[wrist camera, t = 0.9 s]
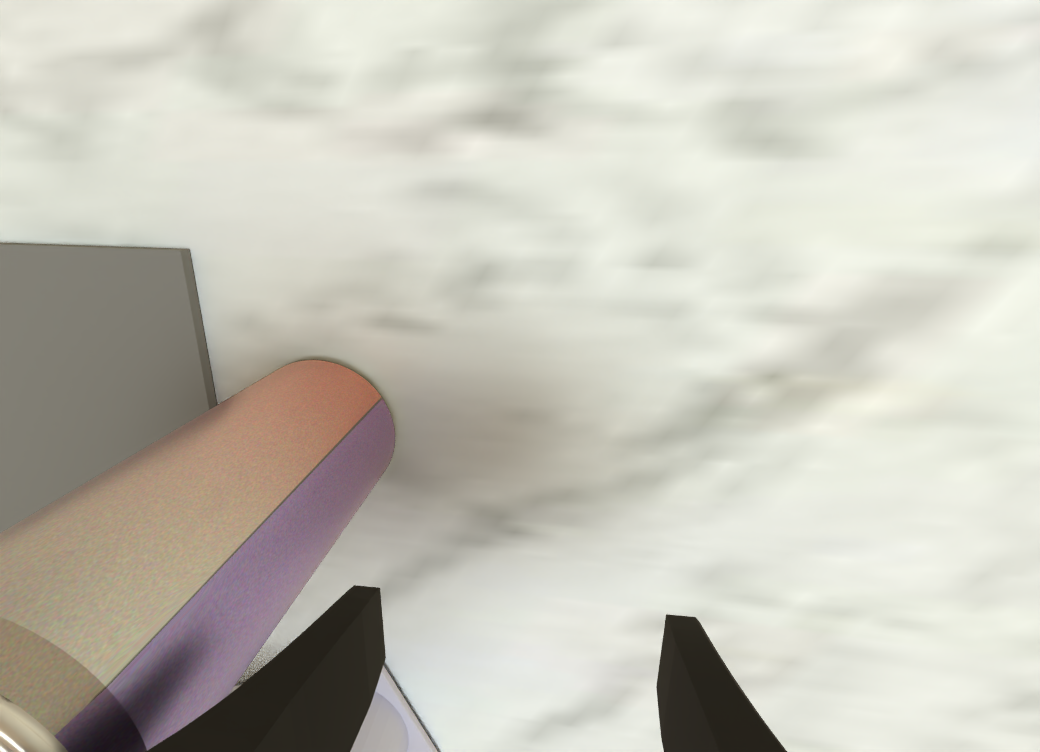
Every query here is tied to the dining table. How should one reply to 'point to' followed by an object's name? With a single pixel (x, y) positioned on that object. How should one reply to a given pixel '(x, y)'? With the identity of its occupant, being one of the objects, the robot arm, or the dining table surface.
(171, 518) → the beverage can
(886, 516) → the dining table surface
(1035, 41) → the dining table surface
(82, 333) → the mat
